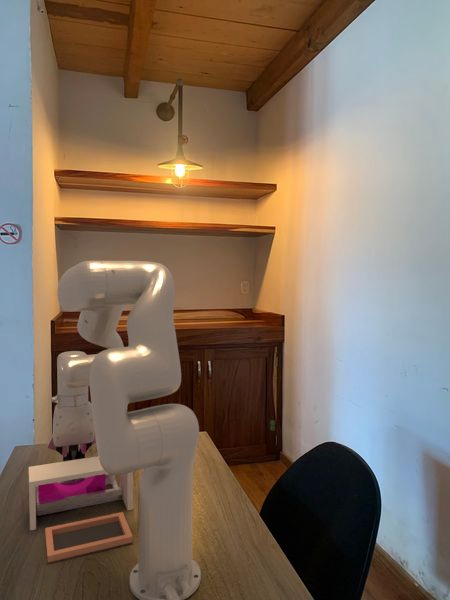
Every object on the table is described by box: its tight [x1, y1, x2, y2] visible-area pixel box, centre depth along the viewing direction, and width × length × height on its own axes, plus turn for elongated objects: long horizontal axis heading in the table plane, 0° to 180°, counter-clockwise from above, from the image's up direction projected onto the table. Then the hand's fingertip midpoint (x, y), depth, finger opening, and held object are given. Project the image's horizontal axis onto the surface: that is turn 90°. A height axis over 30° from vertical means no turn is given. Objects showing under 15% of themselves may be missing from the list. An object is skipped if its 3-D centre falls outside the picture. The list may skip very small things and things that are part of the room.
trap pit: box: [44, 511, 134, 565], centre depth 92 cm, size 10×16×2 cm, turn 114°
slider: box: [35, 444, 123, 516], centre depth 112 cm, size 18×19×8 cm
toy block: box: [38, 474, 107, 515], centre depth 107 cm, size 15×6×8 cm, turn 114°
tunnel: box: [28, 455, 134, 531], centre depth 103 cm, size 8×22×10 cm, turn 114°
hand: (74, 467), depth 118 cm, fingers closed on slider, 2 cm apart
